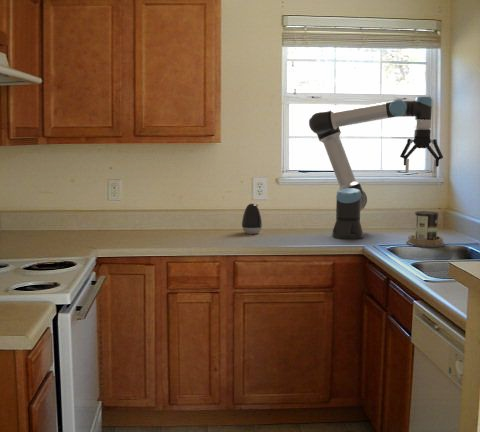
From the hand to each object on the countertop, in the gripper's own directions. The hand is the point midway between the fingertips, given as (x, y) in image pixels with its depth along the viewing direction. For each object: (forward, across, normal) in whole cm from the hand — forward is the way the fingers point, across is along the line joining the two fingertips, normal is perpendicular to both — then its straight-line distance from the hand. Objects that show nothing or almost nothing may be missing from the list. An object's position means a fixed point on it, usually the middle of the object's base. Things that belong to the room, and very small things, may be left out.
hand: (420, 172), depth 327 cm
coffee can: (+31, -8, +19) cm, 37 cm away
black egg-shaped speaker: (+32, +75, +34) cm, 88 cm away
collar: (+32, -8, +19) cm, 38 cm away
